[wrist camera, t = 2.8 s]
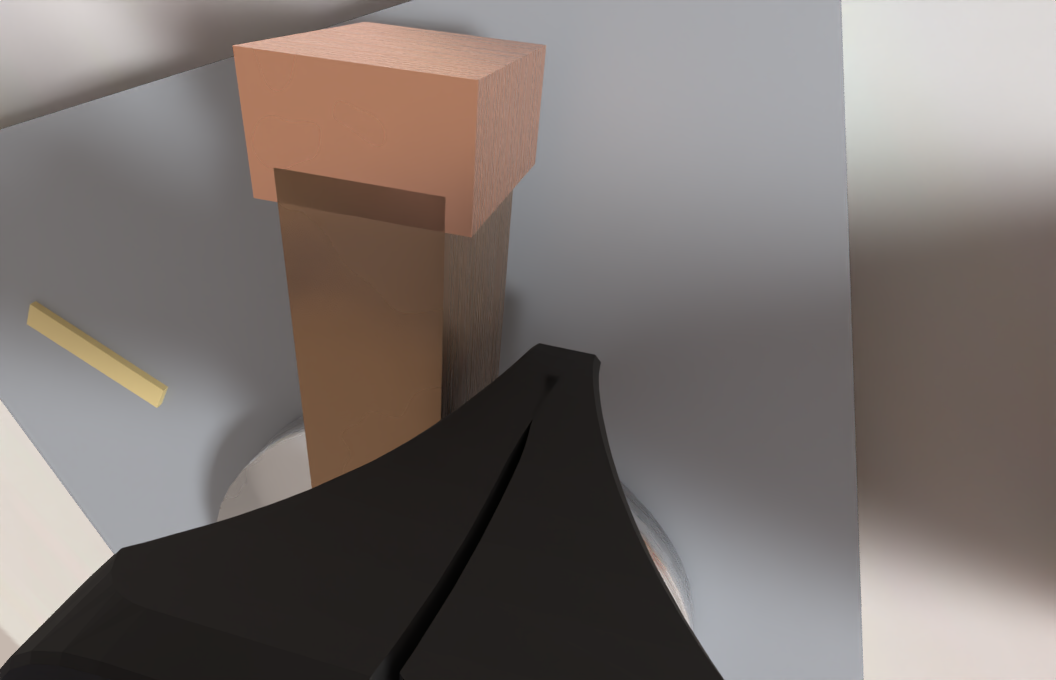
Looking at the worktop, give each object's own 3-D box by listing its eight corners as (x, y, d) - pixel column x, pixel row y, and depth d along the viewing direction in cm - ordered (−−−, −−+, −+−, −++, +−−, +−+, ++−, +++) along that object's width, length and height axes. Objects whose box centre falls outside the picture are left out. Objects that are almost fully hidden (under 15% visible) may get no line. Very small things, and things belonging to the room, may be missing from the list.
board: (860, 836, 21) (871, 899, 19) (314, 763, 28) (293, 806, 26) (819, -120, 9) (838, -135, 8) (-94, 162, 16) (-169, 181, 15)
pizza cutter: (643, 773, 19) (627, 969, 15) (272, 659, 21) (178, 810, 17) (897, 78, 9) (1028, 162, 5) (136, -18, 11) (-162, -7, 7)
